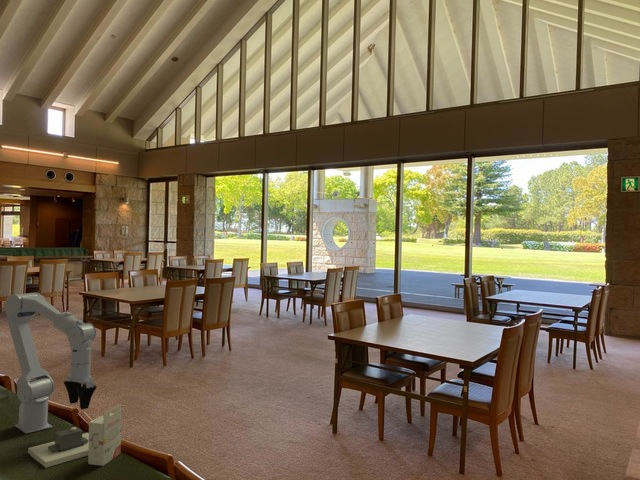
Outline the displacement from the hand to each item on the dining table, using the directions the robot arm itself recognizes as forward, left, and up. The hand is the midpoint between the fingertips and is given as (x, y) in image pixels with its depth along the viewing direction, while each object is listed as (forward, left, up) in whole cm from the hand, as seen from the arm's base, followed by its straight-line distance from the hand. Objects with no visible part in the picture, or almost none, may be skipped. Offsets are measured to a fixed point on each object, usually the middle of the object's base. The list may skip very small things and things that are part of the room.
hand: (79, 405), depth 157 cm
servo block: (+10, -7, -10) cm, 15 cm away
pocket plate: (+10, -7, -9) cm, 15 cm away
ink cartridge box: (+22, -2, -10) cm, 24 cm away
